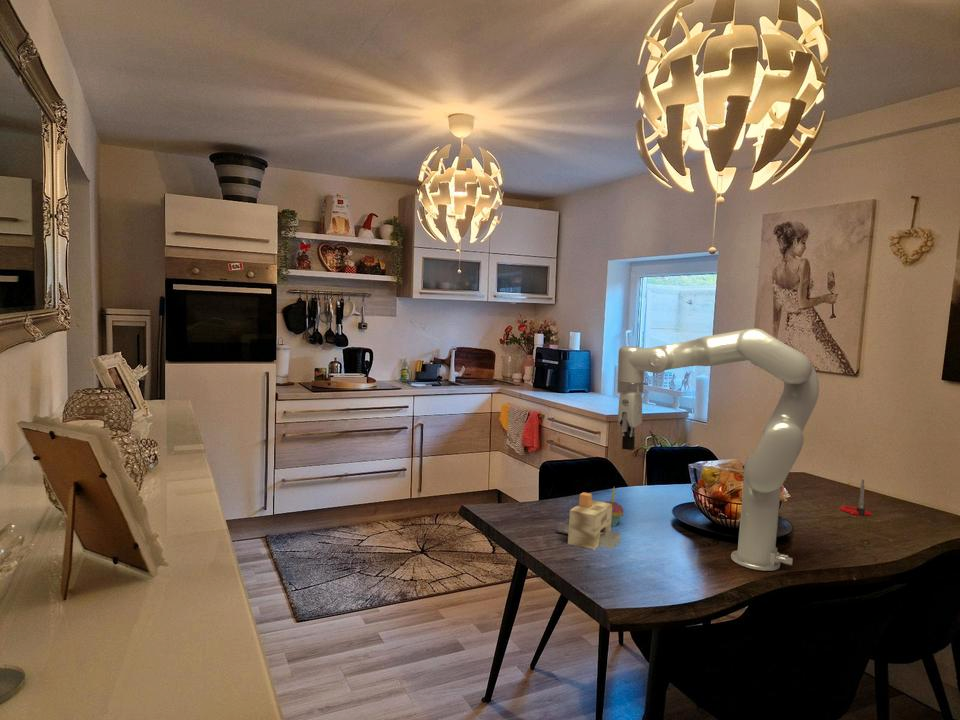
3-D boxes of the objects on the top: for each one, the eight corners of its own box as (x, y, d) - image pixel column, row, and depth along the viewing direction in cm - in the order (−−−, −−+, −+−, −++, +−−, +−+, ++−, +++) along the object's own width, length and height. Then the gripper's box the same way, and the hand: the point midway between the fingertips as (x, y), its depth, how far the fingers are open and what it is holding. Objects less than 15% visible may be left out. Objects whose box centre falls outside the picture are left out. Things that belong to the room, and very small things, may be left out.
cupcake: (601, 517, 208) (603, 482, 207) (626, 523, 204) (629, 487, 203) (592, 524, 201) (594, 487, 200) (618, 530, 196) (620, 492, 195)
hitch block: (610, 536, 191) (612, 504, 190) (593, 550, 179) (596, 515, 178) (585, 530, 195) (587, 498, 194) (567, 543, 183) (569, 510, 182)
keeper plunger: (590, 516, 188) (592, 494, 187) (587, 519, 185) (588, 496, 185) (581, 515, 189) (583, 492, 189) (578, 517, 187) (579, 494, 186)
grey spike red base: (834, 508, 234) (850, 515, 225) (837, 474, 234) (852, 479, 225) (857, 509, 235) (873, 516, 225) (859, 475, 234) (875, 480, 225)
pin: (619, 543, 186) (620, 533, 185) (612, 549, 181) (613, 538, 180) (563, 529, 195) (563, 520, 194) (555, 535, 190) (556, 525, 189)
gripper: (636, 391, 178) (633, 455, 179) (649, 386, 191) (647, 446, 192) (610, 389, 182) (608, 452, 183) (625, 385, 195) (623, 443, 196)
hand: (628, 449), depth 188 cm, fingers closed
